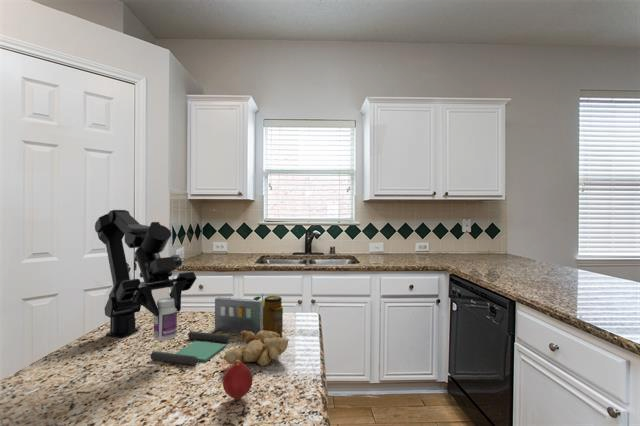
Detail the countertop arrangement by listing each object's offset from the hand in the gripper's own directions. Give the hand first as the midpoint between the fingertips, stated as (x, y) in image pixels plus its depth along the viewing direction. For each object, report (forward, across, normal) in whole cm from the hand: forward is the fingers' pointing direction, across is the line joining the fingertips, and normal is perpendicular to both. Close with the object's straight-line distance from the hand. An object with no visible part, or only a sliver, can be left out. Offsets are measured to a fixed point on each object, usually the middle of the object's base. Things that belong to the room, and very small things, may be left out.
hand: (168, 313), depth 82 cm
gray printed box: (+5, +25, +12) cm, 28 cm away
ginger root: (+20, +17, -2) cm, 26 cm away
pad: (+9, +8, +8) cm, 15 cm away
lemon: (+5, +35, +13) cm, 38 cm away
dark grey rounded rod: (+10, +1, +8) cm, 12 cm away
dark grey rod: (+5, +14, +13) cm, 20 cm away
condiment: (+14, +28, +3) cm, 32 cm away
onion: (+28, +1, -11) cm, 30 cm away
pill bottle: (+4, 0, +6) cm, 7 cm away
